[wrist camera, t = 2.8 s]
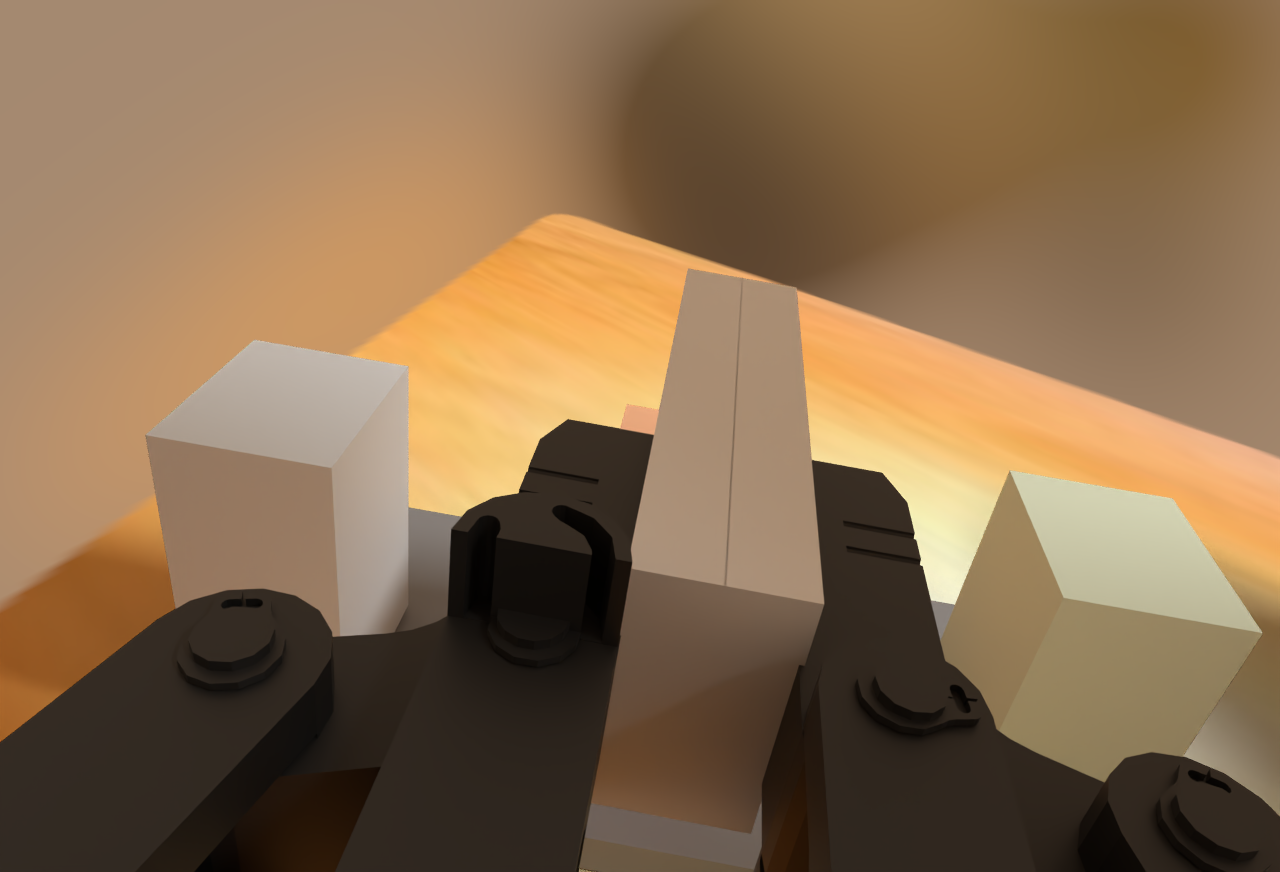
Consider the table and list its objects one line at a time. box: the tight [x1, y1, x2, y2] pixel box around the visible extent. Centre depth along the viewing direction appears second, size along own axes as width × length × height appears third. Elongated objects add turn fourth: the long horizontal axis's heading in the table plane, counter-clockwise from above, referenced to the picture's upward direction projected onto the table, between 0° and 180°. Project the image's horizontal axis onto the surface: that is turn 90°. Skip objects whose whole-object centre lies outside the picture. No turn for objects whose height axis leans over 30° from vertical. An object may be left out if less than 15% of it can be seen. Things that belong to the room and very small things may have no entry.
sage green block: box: [941, 471, 1263, 782], centre depth 28 cm, size 5×6×10 cm
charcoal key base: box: [395, 507, 955, 872], centre depth 34 cm, size 32×14×2 cm, turn 83°
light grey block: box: [146, 340, 408, 637], centre depth 29 cm, size 5×6×10 cm
